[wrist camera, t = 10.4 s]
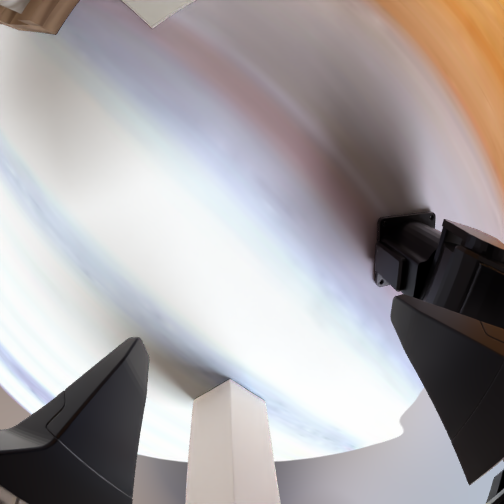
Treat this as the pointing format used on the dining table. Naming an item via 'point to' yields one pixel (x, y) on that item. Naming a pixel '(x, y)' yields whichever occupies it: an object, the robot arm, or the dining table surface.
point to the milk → (230, 449)
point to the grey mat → (156, 9)
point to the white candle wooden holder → (36, 14)
